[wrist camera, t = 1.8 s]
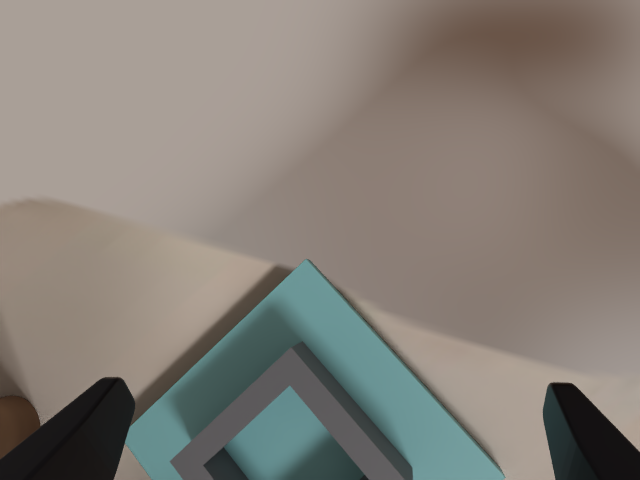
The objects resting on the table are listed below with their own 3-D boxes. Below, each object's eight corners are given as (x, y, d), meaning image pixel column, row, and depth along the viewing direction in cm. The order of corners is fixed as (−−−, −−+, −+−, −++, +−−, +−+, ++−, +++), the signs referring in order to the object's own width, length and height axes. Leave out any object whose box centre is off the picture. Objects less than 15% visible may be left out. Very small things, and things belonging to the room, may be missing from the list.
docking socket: (294, 652, 23) (274, 714, 20) (130, 430, 26) (89, 452, 23) (501, 469, 22) (518, 502, 19) (309, 260, 25) (294, 255, 22)
